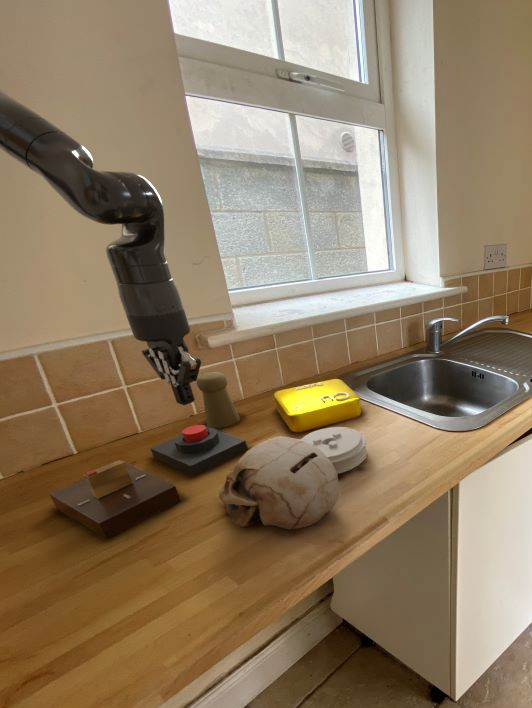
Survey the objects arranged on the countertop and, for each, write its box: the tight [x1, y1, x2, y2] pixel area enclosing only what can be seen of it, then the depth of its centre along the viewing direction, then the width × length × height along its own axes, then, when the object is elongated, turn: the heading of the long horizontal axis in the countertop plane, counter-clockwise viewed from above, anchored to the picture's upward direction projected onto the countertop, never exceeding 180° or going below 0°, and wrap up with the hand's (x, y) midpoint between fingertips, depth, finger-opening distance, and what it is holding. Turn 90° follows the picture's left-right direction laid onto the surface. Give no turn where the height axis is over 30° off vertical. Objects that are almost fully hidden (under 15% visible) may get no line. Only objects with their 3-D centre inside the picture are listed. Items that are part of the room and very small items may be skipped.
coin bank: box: [218, 435, 340, 531], centre depth 69 cm, size 16×17×13 cm
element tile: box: [273, 378, 362, 433], centre depth 101 cm, size 15×15×5 cm
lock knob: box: [82, 459, 133, 499], centre depth 69 cm, size 5×1×4 cm, turn 155°
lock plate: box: [49, 462, 181, 540], centre depth 71 cm, size 14×10×3 cm
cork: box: [195, 371, 241, 429], centre depth 94 cm, size 6×6×11 cm
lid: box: [300, 426, 368, 475], centre depth 84 cm, size 13×13×5 cm
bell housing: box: [150, 425, 249, 477], centre depth 84 cm, size 12×10×4 cm
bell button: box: [181, 424, 208, 442], centre depth 83 cm, size 4×4×2 cm
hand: (186, 402), depth 81 cm, fingers closed
